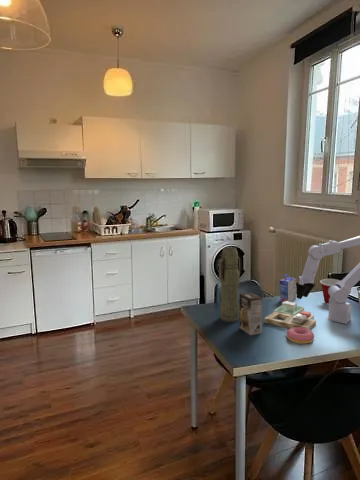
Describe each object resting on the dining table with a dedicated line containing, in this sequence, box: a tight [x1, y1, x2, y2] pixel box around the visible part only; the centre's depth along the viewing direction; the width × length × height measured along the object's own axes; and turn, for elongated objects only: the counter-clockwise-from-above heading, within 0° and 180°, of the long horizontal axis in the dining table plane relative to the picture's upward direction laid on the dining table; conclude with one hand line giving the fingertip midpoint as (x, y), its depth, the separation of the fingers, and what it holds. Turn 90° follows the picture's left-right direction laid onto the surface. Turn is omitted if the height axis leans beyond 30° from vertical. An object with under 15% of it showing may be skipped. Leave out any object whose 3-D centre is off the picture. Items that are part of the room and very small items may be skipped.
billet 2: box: [293, 314, 307, 325], centre depth 164 cm, size 4×6×5 cm, turn 141°
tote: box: [273, 305, 305, 316], centre depth 181 cm, size 10×13×2 cm
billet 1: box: [281, 301, 298, 314], centre depth 181 cm, size 4×6×5 cm, turn 51°
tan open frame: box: [264, 311, 317, 331], centre depth 167 cm, size 20×11×2 cm, turn 51°
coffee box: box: [239, 292, 263, 336], centre depth 160 cm, size 9×6×16 cm
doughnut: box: [286, 327, 315, 345], centre depth 151 cm, size 11×11×4 cm
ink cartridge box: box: [279, 273, 297, 303], centre depth 201 cm, size 10×6×14 cm, turn 138°
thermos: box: [218, 246, 241, 323], centre depth 173 cm, size 9×12×35 cm
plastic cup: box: [319, 278, 340, 305], centre depth 195 cm, size 11×11×12 cm
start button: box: [300, 310, 312, 318], centre depth 172 cm, size 4×4×2 cm
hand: (301, 297), depth 173 cm, fingers open, 7 cm apart
